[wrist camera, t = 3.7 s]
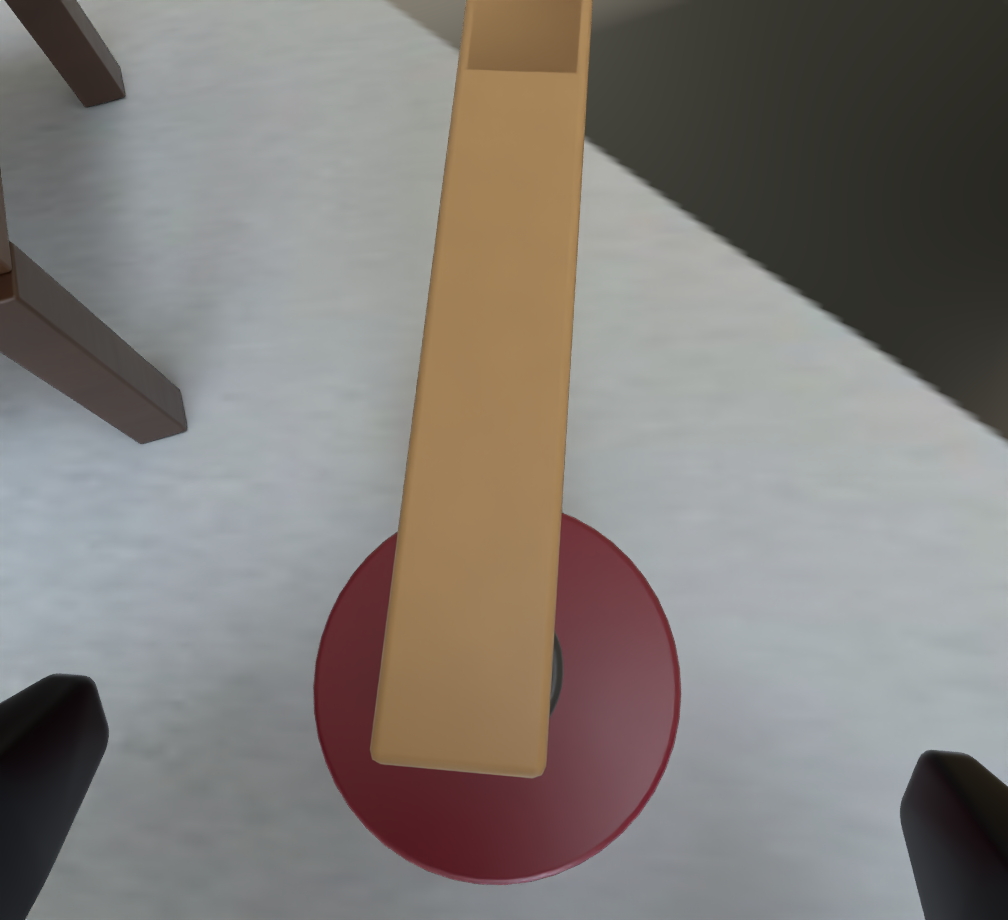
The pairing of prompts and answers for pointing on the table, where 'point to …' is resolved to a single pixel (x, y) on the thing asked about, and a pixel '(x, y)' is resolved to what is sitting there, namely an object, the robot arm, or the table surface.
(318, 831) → the table surface
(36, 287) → the chair
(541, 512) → the red cylinder with handle
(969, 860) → the robot arm
